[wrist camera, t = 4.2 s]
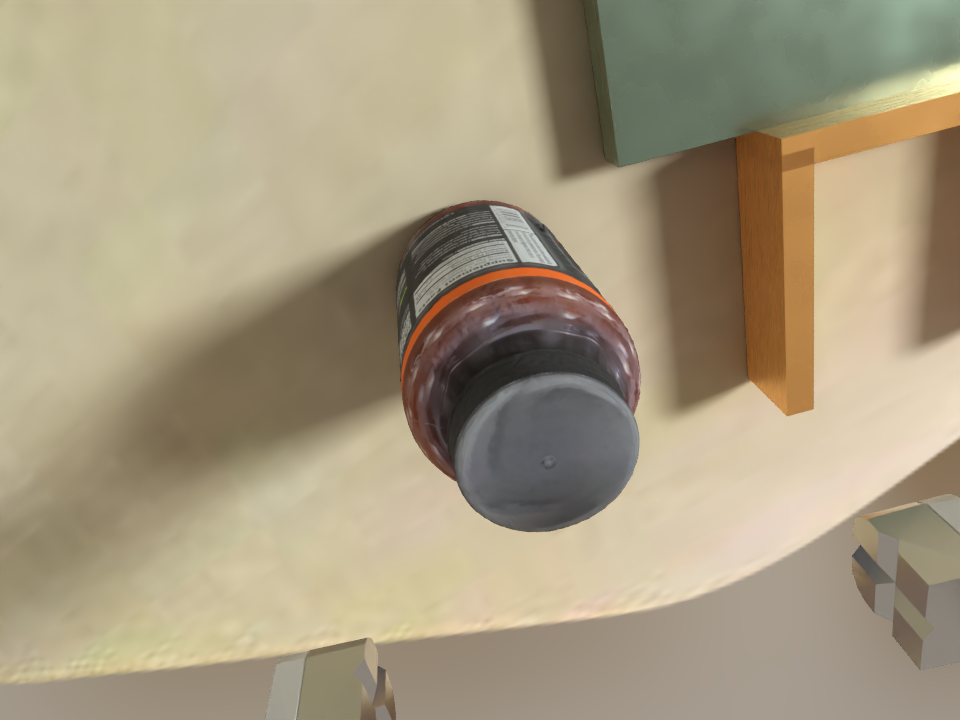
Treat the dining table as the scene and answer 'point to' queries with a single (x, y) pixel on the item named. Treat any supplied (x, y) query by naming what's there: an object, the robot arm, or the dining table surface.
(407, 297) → the supplement bottle
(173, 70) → the dining table surface
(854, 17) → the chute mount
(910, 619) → the robot arm
